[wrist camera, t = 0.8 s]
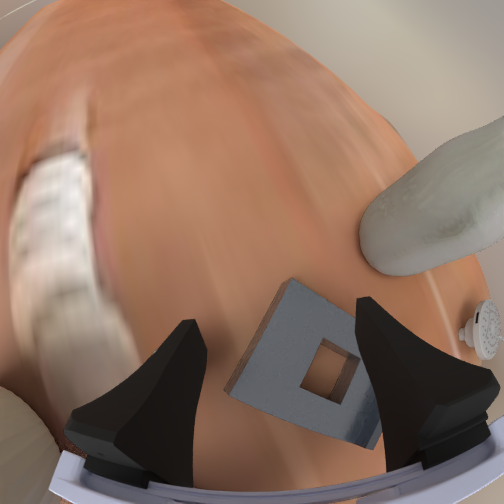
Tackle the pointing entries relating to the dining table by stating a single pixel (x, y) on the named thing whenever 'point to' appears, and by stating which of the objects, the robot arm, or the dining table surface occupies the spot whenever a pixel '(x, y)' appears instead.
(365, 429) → the jig
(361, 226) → the grey green bottle
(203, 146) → the dining table surface
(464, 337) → the showerhead
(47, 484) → the canister
